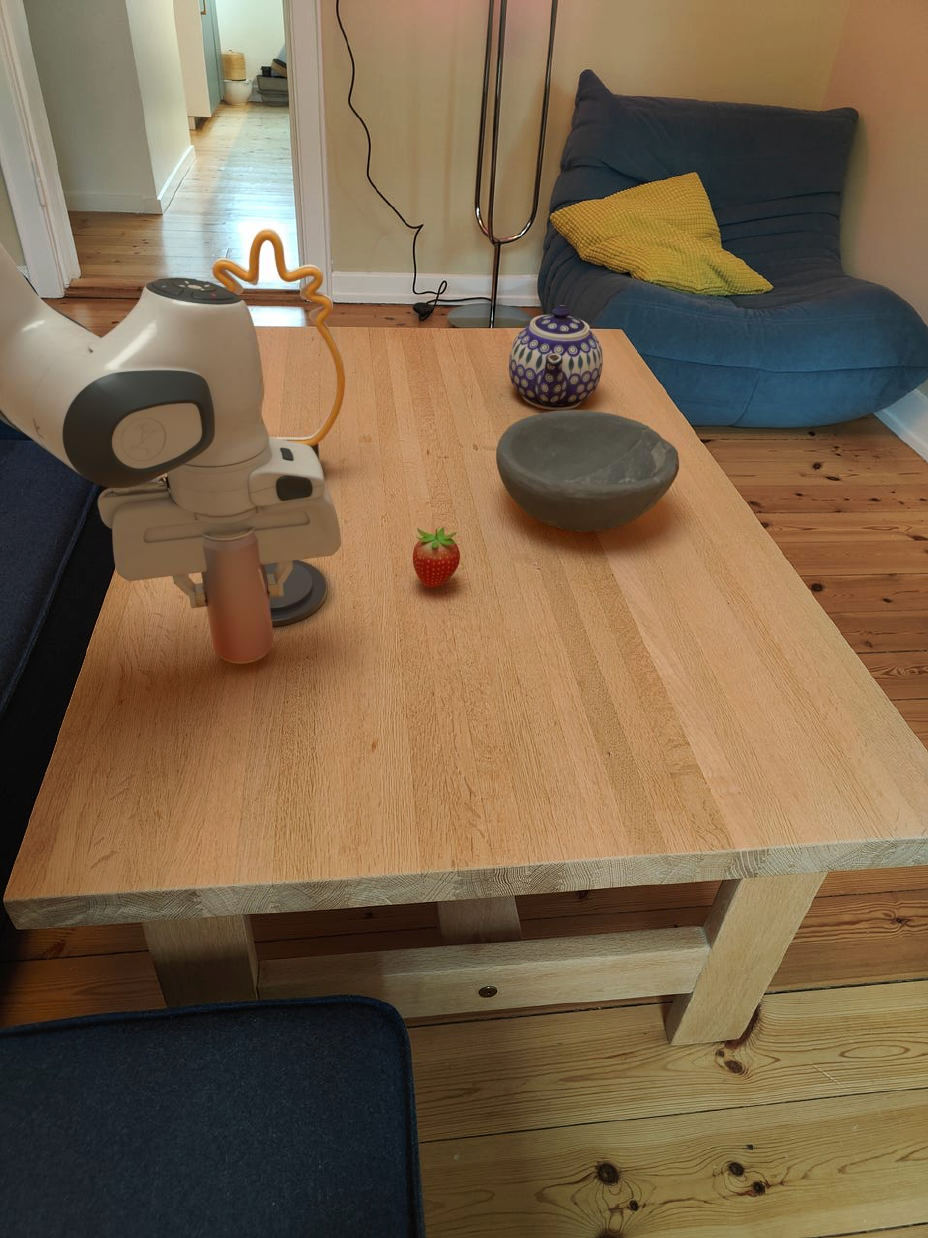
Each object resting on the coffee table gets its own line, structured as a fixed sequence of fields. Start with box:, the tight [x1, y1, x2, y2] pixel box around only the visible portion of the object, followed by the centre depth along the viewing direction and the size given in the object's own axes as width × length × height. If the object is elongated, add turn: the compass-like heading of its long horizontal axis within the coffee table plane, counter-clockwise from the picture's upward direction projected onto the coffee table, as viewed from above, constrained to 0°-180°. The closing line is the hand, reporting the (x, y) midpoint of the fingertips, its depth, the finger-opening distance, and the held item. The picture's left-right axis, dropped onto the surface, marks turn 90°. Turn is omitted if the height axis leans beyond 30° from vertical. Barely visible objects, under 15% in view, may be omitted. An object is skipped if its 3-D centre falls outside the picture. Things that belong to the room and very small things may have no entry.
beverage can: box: [200, 527, 275, 665], centre depth 82 cm, size 6×6×15 cm
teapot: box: [508, 304, 604, 411], centre depth 137 cm, size 25×15×15 cm, turn 169°
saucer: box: [266, 560, 328, 627], centre depth 96 cm, size 12×12×1 cm
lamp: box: [212, 228, 346, 460], centre depth 106 cm, size 17×9×32 cm, turn 96°
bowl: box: [495, 409, 680, 533], centre depth 110 cm, size 23×22×10 cm
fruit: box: [412, 526, 461, 589], centre depth 96 cm, size 5×5×8 cm
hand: (238, 598), depth 83 cm, fingers closed on beverage can, 6 cm apart
